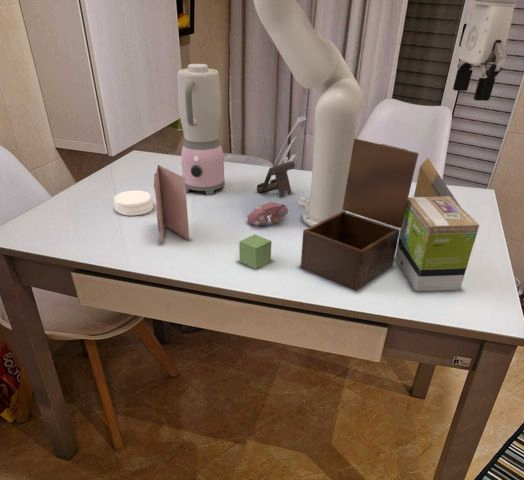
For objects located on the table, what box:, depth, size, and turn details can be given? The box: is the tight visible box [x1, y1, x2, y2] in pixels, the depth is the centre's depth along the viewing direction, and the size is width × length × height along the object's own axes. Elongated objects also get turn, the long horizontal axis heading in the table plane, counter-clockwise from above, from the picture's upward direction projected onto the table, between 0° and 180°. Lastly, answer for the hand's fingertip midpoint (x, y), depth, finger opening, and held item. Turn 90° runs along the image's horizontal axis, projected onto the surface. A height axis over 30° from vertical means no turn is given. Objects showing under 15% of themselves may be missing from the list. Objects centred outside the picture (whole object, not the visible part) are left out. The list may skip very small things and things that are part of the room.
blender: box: [176, 63, 226, 196], centre depth 137 cm, size 16×12×32 cm
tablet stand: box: [256, 160, 296, 198], centre depth 144 cm, size 9×8×8 cm
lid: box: [342, 138, 420, 229], centre depth 106 cm, size 15×15×5 cm
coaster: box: [113, 190, 154, 217], centre depth 133 cm, size 10×10×4 cm
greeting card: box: [153, 164, 190, 245], centre depth 117 cm, size 11×7×15 cm, turn 5°
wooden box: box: [300, 211, 401, 292], centre depth 107 cm, size 15×15×9 cm
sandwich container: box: [413, 157, 461, 207], centre depth 125 cm, size 9×15×15 cm, turn 64°
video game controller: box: [246, 201, 289, 226], centre depth 126 cm, size 10×5×7 cm, turn 118°
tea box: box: [394, 196, 480, 292], centre depth 103 cm, size 15×10×15 cm
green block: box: [238, 234, 272, 270], centre depth 110 cm, size 5×5×5 cm
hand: (470, 95), depth 105 cm, fingers open, 9 cm apart
